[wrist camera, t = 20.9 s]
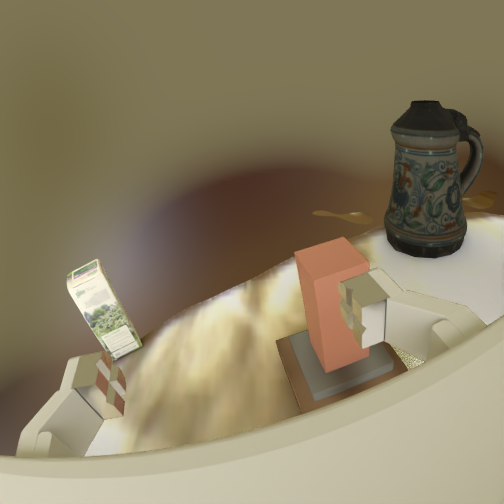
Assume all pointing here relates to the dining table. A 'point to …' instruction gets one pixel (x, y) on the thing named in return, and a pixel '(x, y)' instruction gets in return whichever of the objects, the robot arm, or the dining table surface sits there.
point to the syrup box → (103, 309)
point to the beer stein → (430, 180)
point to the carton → (330, 300)
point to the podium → (333, 372)
